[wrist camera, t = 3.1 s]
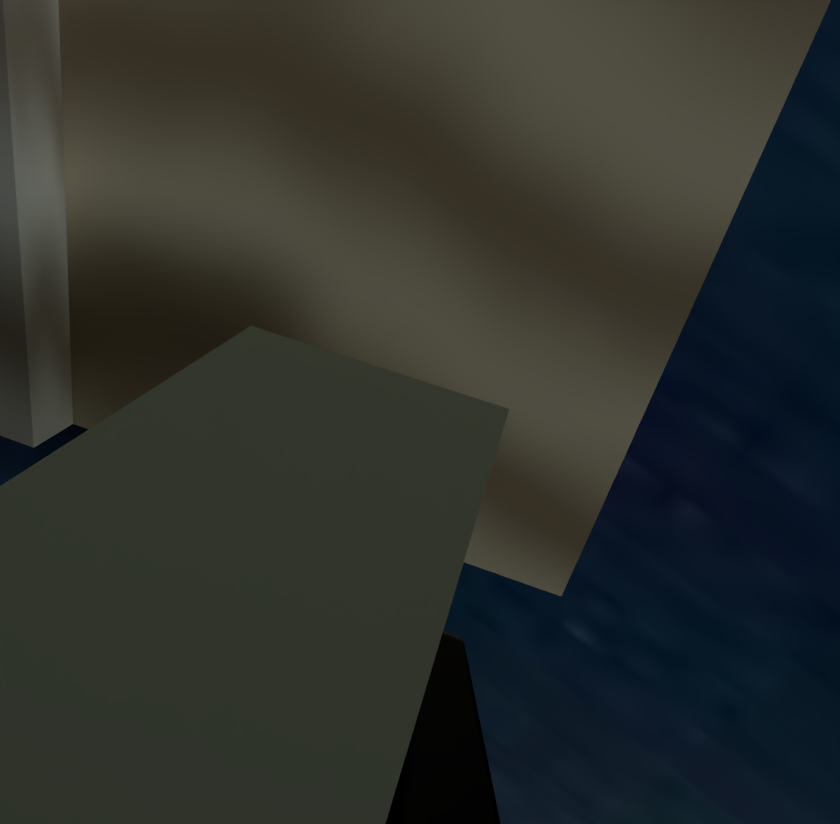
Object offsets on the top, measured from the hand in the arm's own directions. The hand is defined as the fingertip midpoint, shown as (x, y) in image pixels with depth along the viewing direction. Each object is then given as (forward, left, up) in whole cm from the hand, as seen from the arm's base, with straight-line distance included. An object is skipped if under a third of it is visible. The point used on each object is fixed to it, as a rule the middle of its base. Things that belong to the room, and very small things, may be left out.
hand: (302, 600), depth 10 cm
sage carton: (0, 0, -2) cm, 2 cm away
